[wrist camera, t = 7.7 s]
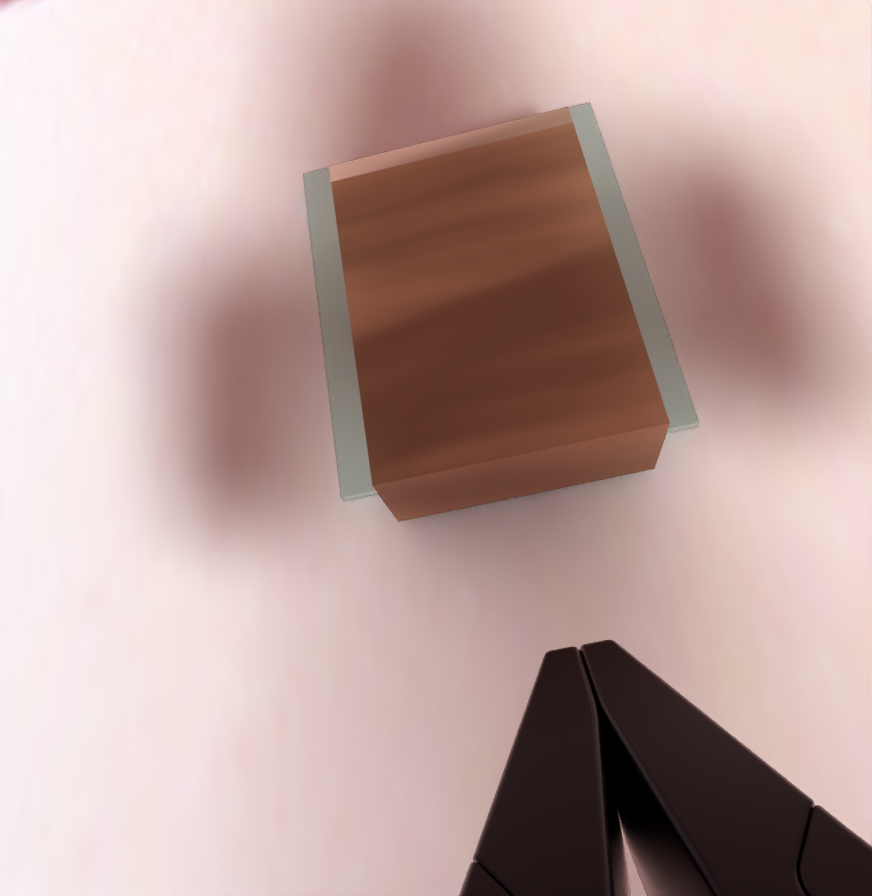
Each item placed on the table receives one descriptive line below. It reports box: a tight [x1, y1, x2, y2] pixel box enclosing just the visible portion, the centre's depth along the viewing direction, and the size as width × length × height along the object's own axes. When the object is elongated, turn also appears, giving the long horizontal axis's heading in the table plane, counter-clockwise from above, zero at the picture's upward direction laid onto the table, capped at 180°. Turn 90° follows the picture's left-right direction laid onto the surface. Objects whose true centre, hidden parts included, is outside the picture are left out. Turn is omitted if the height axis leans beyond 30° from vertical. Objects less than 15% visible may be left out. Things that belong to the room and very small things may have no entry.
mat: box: [303, 103, 699, 501], centre depth 23 cm, size 12×10×1 cm
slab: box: [329, 107, 670, 521], centre depth 20 cm, size 3×7×10 cm
